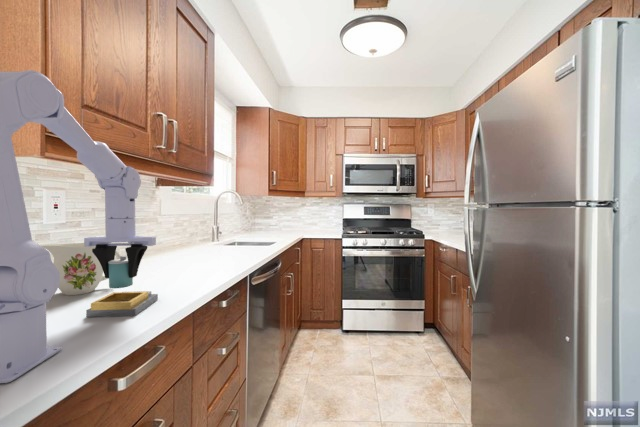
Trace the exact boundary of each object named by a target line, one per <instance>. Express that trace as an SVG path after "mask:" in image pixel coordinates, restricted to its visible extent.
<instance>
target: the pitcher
mask: <svg viewBox="0 0 640 427" xmlns="http://www.w3.org/2000/svg"><path fill="white" fill-rule="evenodd" d="M39 245H40V244H39ZM40 246H42V247H43V248H44V249H46V250H47V251H49V253H50V255H52V257H53V262H52V263H53V264H54V265H55V266H56V267H57V269H58V271H59V273H60V283H59V287H58V289H59V291H60V292H62V294H63V295H65V296H79V295H83V294H89V293H91V292H94V291H95V290H96V289H97V287H98V286H99V284H100V283H101V282H102V281H106V280H109V278H105V275H103V274H104V272H103V269H102V266H101V264H100V262H99V261H98V259H97V257H96V256H95V255H94V253H93V252H92V249H95V247H96V246H84V242H76V243H55V244H51V243H50V244H41V245H40ZM120 256H122V255H121V254H120V252H118V250H116V252H115V258H116V259H120Z"/></svg>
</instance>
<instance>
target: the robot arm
mask: <svg viewBox="0 0 640 427" xmlns="http://www.w3.org/2000/svg"><path fill="white" fill-rule="evenodd" d="M28 123H34V124H35V123H36V124H40V125H42V126H44V127H45V129H48V130H49V131H50V132H51V133H53V134H54V135H55V136H57V137H58V138H59V139H60V140H62V141H63V142H64V143H66V144H67V145H69V147H71V148H72V149H74V150H75V152H76V159H77V161H78V162H79V163H81V164H82V165H83V167H85V168H86V169H87V170H89V171H90V172H91V173H92V174H93V175H94V178H96V179H97V184H98V186H99V187H100V189H101V190H104V206H105V208H104V214H105V217H104V218H105V219H104V220H105V222H104V223H105V236H89V237H84V239H83V243H84V246H96V247H95V249H92V252H93V253H94V255H95V256H96V257H97V259H98V261H99V262H100V264H101V266H102V269H103V274H104V275H105V278H109V263H108V262H109V261H111V260H115V258H116V256H115V252H116V251H117V248H118V247H119V246H120V247H121V246H123V247H124V246H127V247H125V249H124V250H125V253H126V259H128V274H129V278H133V279H134V278H135V277H137V276H138V271H139V267H140V264H141V262H142V259H143V257H144V255H145V253H146V251H147V250H148V247H153V246H155V245H157V237H156V236H142V235H141V236H140V235H139V236H138V235H136V199H137V198H138V197H139V190H140V188H141V185H142V179H141V178H140V177H141V176H140V173H139V172H138V170H137V169H135V168H134V167H132V166H127V165H126V164H125V163H124V162H123V161H122V160H121V159H120V158H119V157H118V156H117V155H116V153H114V152H113V150H112V149H110V147H109V146H108V145H107V143H104V142H102V141H98V140H97V141H96V140H93V139H92V137H91V136H90V135H89V134H88V133H87V131H85V129H84V128H83V126H81V125H80V123H79V122H78V121H77V119H76V118H75V117H74V116H73V115H72V114H71V113H70V112H69V110H68V109H67V108H66V107H65V99H64V95H63V93H62V92H61V91H60V90H59V89H58V88H56V86H55V84H54V83H53V82H52V80H51V79H50V78H49V77H47V76H46V75H45V74H43V73H42V72H41V71H40V72H39V71H36V70H30V69H29V70H28V69H26V70H23V71H22V70H21V71H20V70H19V71H0V384H7V383H11V382H12V381H14V380H16V379H17V378H19V377H21V376H23V375H24V374H25V373H27V372H28V371H30V370H32V369H33V368H34V367H36V366H38V365H39V364H41V363H43V362H44V361H46V360H48V359H49V358H51V357H52V356H54V355H55V354H57V353H58V352H60V351H62V346H48V344H47V343H48V342H47V338H48V336H47V303H49V302H51V298H52V297H53V296H54V295H55V294H56V292H57V291H58V289H59V288H58V287H59V283H60V273H59V271H58V269H57V267H56V266H55V265H54V264H53V263H54V262H53V261H52V258H51V253H50V252H49V250H47V249H45V248H43V247H42V246H40V244H38V243H37V242H36V241H34V240H33V238H32V233H31V228H30V224H29V223H30V222H29V218H28V213H27V208H26V205H25V204H26V203H25V199H24V193H23V189H22V188H23V187H22V184H21V179H20V174H19V168H18V164H17V159H16V153H15V149H14V144H13V140H12V135H14V134H15V133H16V132H17V131H19V130H20V129H21V128H23V127H24V126H26V124H28Z"/></svg>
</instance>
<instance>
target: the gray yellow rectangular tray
mask: <svg viewBox="0 0 640 427" xmlns="http://www.w3.org/2000/svg"><path fill="white" fill-rule="evenodd" d="M158 296H159V295H158V293H152V291H151V290H149V291H148V290H144V291H141V290H140V291H121V292H120V291H119V292H118V291H117V292H116V291H115V292H111V293H109V294H108V295H104V296H103V297H101V298H99V299H97V300H95V301H93V302H91V303H90V308H88V309H86V313H85V314H86V318H102V317H103V318H104V317H108V318H109V317H133V316H137V315H139V314H140V313H141V312H143V311H144V310H146V309H147V308H148V307H150V306H151V305H153V304H154V303H156V302H157V301H158V300H159V298H158Z"/></svg>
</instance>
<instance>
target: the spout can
mask: <svg viewBox="0 0 640 427" xmlns="http://www.w3.org/2000/svg"><path fill="white" fill-rule="evenodd" d="M108 263H109V279H108V287H109V288H110V289H121V288H123V289H124V288H127V287H131V286H133V284H134V282H133V280H134V277H133V278H129V274H128V258H127V255H121V256H120V259H117V258H116V259H114V260H111V261H109V262H108Z"/></svg>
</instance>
